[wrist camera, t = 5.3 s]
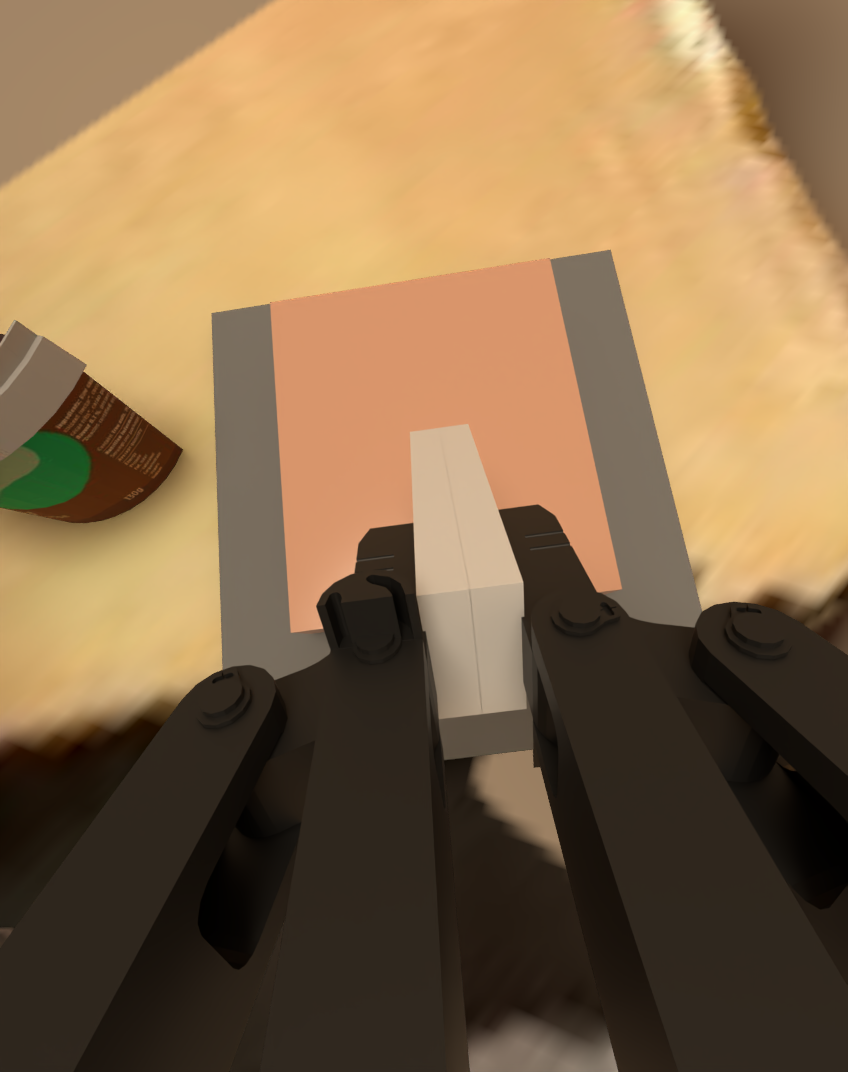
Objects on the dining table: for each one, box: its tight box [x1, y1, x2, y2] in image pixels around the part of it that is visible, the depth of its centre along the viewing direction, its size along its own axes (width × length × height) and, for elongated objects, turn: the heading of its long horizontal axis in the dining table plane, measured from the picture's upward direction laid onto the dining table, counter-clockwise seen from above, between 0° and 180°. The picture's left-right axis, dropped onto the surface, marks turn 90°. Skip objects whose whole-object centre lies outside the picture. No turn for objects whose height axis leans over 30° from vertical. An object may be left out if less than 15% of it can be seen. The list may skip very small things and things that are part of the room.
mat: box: [212, 250, 702, 760], centre depth 22 cm, size 20×22×1 cm
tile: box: [270, 258, 622, 634], centre depth 20 cm, size 12×3×14 cm
